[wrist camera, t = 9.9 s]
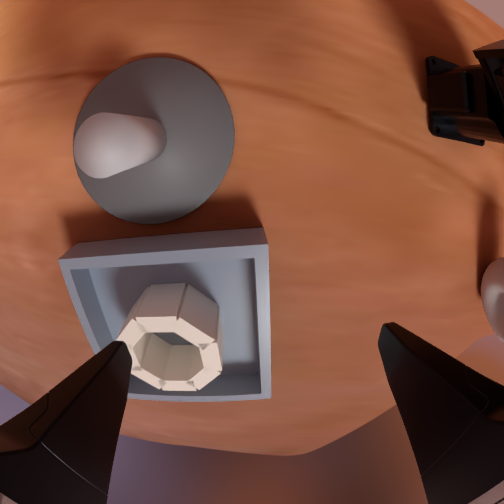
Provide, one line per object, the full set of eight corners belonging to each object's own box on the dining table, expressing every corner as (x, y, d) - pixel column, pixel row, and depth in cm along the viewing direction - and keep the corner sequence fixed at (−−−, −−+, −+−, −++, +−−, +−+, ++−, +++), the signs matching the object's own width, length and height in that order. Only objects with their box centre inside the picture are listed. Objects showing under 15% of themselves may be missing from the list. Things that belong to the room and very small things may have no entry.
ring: (216, 280, 20) (212, 314, 16) (228, 366, 23) (228, 402, 19) (124, 285, 20) (104, 317, 16) (151, 367, 23) (142, 401, 19)
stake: (230, 49, 14) (227, 3, 8) (239, 214, 19) (242, 259, 12) (73, 81, 14) (10, 69, 7) (90, 228, 18) (37, 272, 12)
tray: (263, 227, 19) (268, 244, 16) (267, 373, 25) (271, 398, 22) (77, 243, 19) (58, 259, 16) (125, 374, 24) (117, 397, 21)
